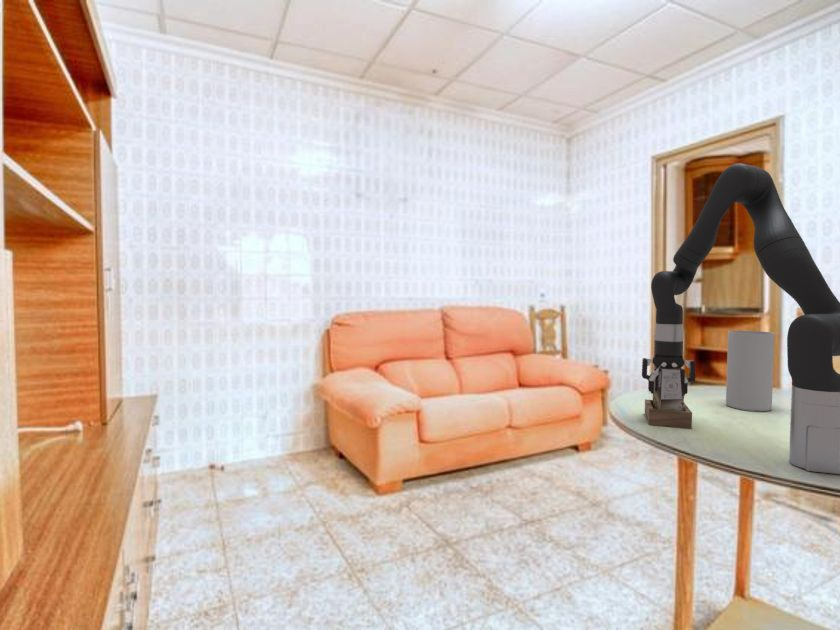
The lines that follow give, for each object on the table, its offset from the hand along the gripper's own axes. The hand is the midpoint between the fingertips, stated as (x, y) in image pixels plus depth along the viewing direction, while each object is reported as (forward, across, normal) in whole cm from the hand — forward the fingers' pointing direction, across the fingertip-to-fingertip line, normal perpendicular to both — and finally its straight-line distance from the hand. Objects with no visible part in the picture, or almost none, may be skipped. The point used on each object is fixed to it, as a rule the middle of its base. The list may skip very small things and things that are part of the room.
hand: (667, 394), depth 140 cm
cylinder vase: (+8, +28, +28) cm, 40 cm away
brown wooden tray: (+8, 0, 0) cm, 8 cm away
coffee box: (+8, 0, 0) cm, 8 cm away
